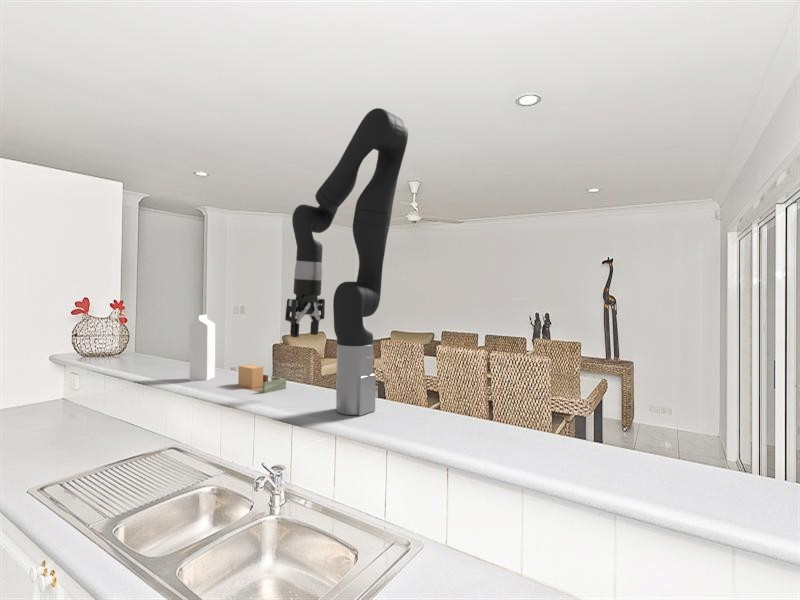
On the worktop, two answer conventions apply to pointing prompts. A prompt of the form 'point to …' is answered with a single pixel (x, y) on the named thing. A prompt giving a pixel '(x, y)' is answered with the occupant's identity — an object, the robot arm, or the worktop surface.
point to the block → (250, 376)
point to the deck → (268, 385)
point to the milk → (202, 349)
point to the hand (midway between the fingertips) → (304, 335)
